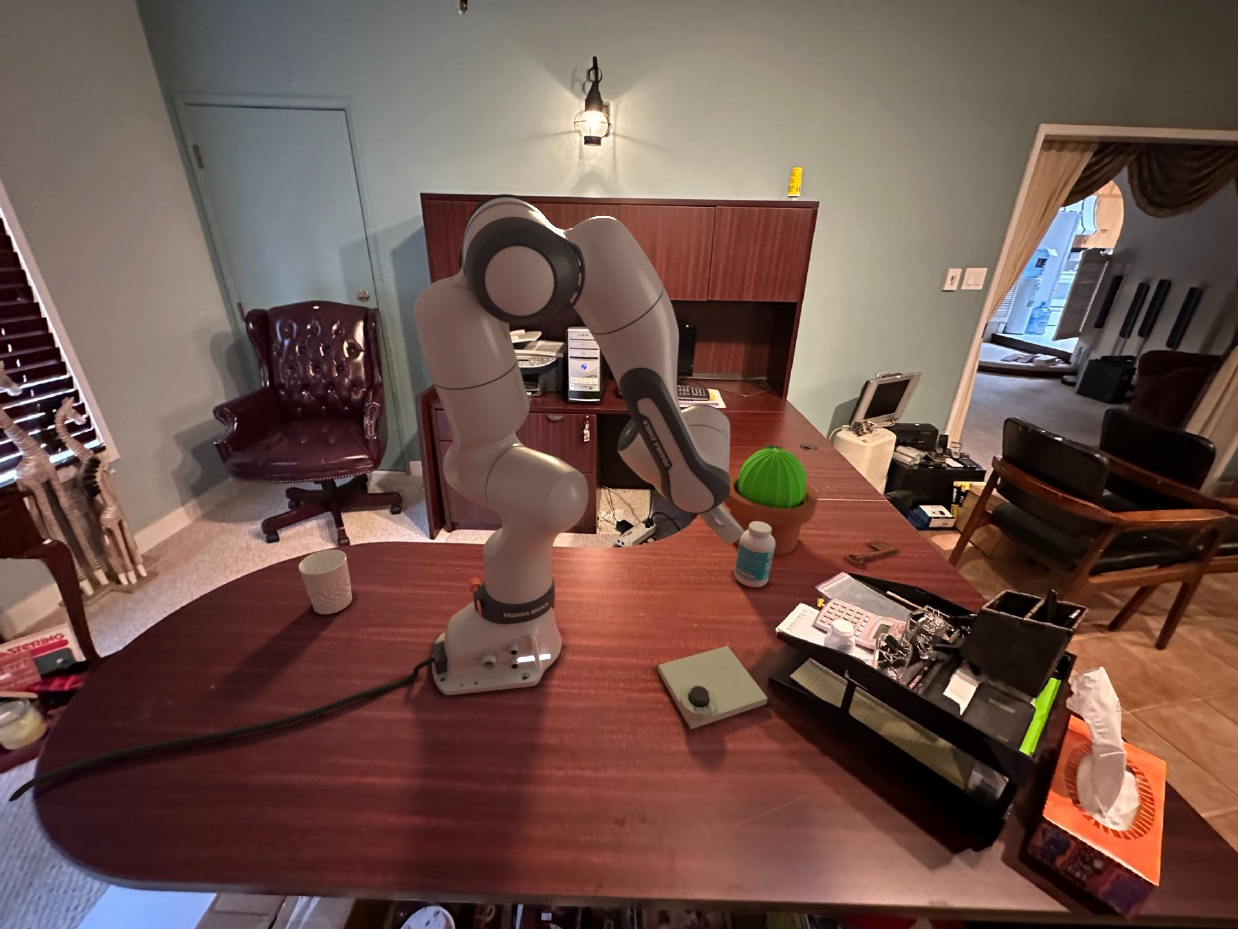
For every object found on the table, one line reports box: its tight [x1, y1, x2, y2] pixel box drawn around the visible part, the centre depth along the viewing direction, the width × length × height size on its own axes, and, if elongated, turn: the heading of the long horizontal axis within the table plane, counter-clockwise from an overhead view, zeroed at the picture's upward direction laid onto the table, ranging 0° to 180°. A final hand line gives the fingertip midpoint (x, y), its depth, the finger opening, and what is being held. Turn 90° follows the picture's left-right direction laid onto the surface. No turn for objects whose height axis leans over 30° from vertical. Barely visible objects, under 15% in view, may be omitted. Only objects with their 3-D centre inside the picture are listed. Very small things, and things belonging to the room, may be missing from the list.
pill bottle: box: [733, 521, 775, 588], centre depth 108 cm, size 8×7×14 cm
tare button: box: [690, 686, 709, 708], centre depth 77 cm, size 3×3×2 cm
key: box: [846, 541, 897, 565], centre depth 121 cm, size 6×1×15 cm
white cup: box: [298, 549, 353, 615], centre depth 96 cm, size 8×8×10 cm
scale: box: [657, 645, 768, 730], centre depth 82 cm, size 14×12×3 cm
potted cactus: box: [723, 444, 819, 556], centre depth 121 cm, size 22×22×25 cm
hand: (729, 522), depth 95 cm, fingers closed
